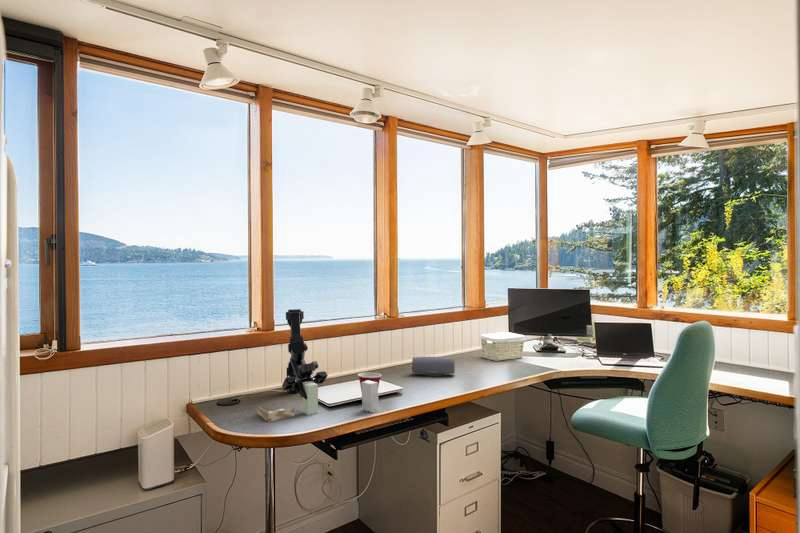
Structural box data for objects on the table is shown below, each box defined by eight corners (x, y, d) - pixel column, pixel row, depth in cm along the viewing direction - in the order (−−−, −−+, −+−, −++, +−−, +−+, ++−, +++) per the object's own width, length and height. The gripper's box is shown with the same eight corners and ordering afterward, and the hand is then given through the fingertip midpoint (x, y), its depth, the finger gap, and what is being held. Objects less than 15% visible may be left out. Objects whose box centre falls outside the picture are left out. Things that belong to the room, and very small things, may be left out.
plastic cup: (386, 398, 220) (386, 372, 220) (373, 405, 211) (373, 377, 210) (366, 395, 226) (366, 369, 225) (353, 401, 216) (352, 374, 216)
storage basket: (509, 353, 319) (508, 331, 319) (526, 358, 305) (526, 335, 304) (479, 357, 308) (479, 334, 308) (495, 362, 294) (495, 338, 294)
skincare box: (379, 410, 203) (378, 382, 203) (371, 413, 200) (371, 384, 200) (369, 407, 208) (368, 379, 207) (361, 410, 204) (361, 381, 204)
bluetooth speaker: (454, 373, 267) (454, 355, 267) (454, 377, 258) (454, 358, 258) (413, 372, 270) (413, 354, 269) (412, 376, 260) (411, 358, 260)
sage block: (312, 410, 204) (312, 382, 204) (317, 413, 201) (317, 384, 201) (303, 412, 202) (302, 383, 202) (308, 415, 198) (307, 386, 198)
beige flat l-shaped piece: (283, 409, 206) (283, 402, 206) (294, 415, 197) (294, 408, 197) (257, 414, 200) (257, 407, 199) (268, 421, 191) (268, 414, 191)
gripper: (284, 358, 198) (297, 391, 190) (325, 352, 210) (338, 383, 201) (277, 373, 205) (288, 406, 196) (316, 367, 216) (329, 397, 208)
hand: (311, 397), depth 200 cm, fingers closed on sage block, 4 cm apart
